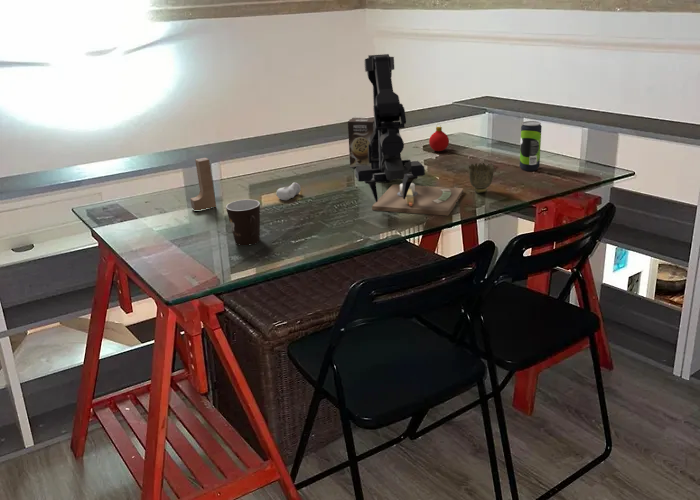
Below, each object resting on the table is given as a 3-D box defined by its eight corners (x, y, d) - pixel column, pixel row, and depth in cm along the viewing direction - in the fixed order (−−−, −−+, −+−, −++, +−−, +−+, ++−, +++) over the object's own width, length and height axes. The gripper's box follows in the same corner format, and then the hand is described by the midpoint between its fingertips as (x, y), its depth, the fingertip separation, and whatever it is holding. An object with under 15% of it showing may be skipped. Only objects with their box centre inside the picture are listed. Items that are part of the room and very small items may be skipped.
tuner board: (372, 210, 191) (371, 205, 190) (392, 188, 208) (392, 183, 207) (448, 215, 183) (448, 210, 183) (463, 192, 200) (463, 187, 200)
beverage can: (541, 167, 219) (544, 121, 213) (535, 172, 214) (538, 125, 208) (523, 165, 222) (525, 120, 216) (516, 170, 217) (518, 124, 211)
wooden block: (212, 205, 203) (205, 157, 197) (216, 207, 201) (209, 159, 195) (191, 209, 200) (184, 161, 194) (195, 212, 198) (187, 163, 192)
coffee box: (349, 167, 231) (346, 121, 225) (354, 162, 237) (352, 117, 230) (375, 168, 228) (372, 121, 222) (379, 163, 234) (377, 117, 228)
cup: (493, 196, 195) (494, 170, 192) (467, 196, 197) (467, 169, 194) (493, 188, 202) (494, 162, 199) (468, 188, 204) (468, 162, 200)
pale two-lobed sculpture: (283, 206, 203) (273, 197, 205) (304, 198, 207) (294, 190, 210) (284, 194, 200) (274, 186, 203) (305, 187, 204) (295, 179, 207)
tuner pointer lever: (399, 191, 200) (399, 181, 199) (414, 190, 200) (413, 180, 199) (403, 207, 187) (402, 196, 186) (418, 206, 187) (418, 195, 186)
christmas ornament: (428, 153, 241) (428, 126, 238) (429, 148, 248) (429, 121, 244) (448, 153, 240) (448, 125, 236) (449, 148, 247) (449, 121, 243)
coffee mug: (232, 236, 179) (227, 200, 175) (264, 233, 179) (260, 198, 175) (228, 253, 168) (223, 216, 164) (263, 250, 169) (258, 213, 165)
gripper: (361, 157, 175) (363, 213, 181) (430, 150, 178) (430, 206, 184) (353, 146, 185) (355, 200, 191) (419, 140, 188) (419, 193, 194)
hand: (390, 200), depth 190 cm, fingers open, 8 cm apart
